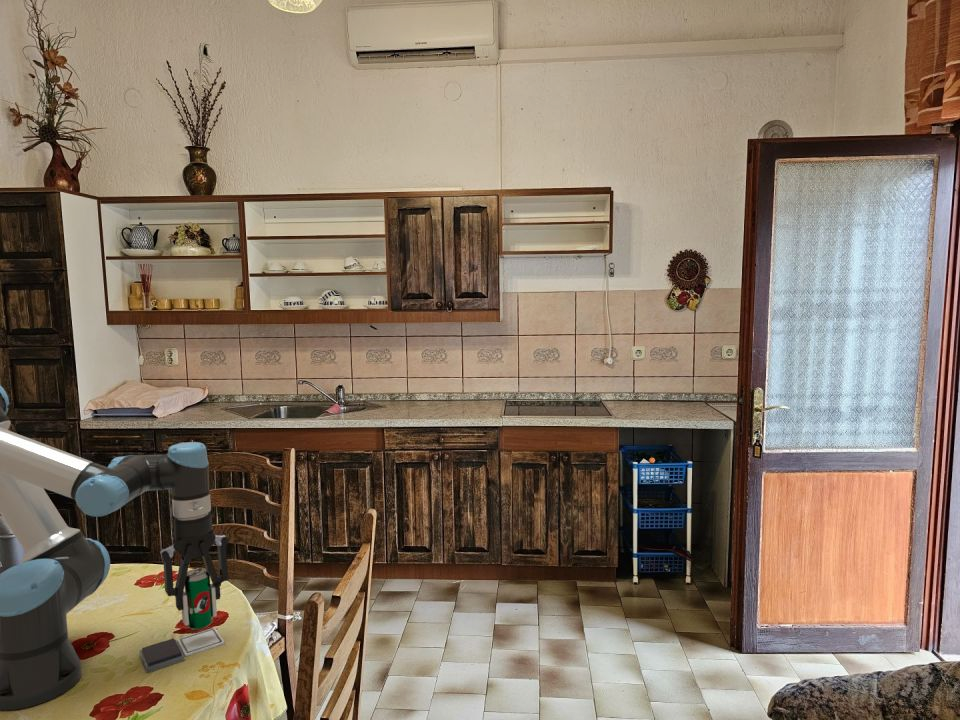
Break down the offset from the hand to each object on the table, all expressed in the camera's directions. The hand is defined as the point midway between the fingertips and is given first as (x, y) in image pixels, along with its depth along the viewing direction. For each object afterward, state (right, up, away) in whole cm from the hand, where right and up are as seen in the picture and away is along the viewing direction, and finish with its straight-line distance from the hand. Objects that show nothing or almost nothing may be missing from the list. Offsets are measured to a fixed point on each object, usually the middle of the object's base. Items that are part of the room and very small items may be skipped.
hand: (199, 618), depth 138 cm
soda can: (0, -2, 0) cm, 2 cm away
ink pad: (-5, -6, -5) cm, 10 cm away
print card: (0, -5, +1) cm, 6 cm away
